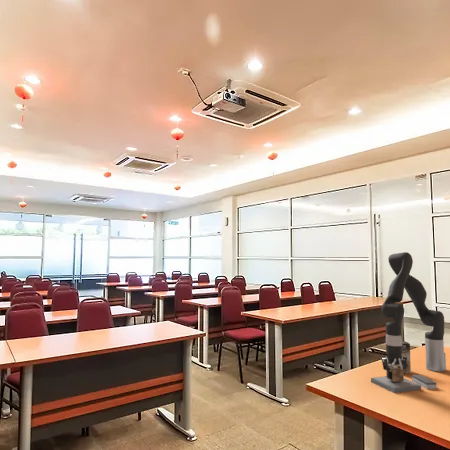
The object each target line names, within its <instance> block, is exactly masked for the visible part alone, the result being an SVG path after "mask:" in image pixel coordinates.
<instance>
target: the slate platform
mask: <svg viewBox="0 0 450 450" xmlns="http://www.w3.org/2000/svg"><path fill="white" fill-rule="evenodd" d="M370 382H371V383H372V384H375V385H377V386H379V387H380V388H382V389H385V390H387V391H389V392H391V393H393V394H396V393H397V394H398V393H404V392H405V393H406V392H413V391H421V390H422V386H421V385H419V384H417V383H415V382H413V381H411V380H409V379H407V378H404V381H397V382H394V381H392V380H390V379H387V375H386V376H384V375H383V376H376V377H371V378H370Z"/></svg>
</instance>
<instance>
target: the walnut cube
mask: <svg viewBox="0 0 450 450" xmlns="http://www.w3.org/2000/svg"><path fill="white" fill-rule="evenodd" d="M389 369H390V368H389ZM385 371H386V376H387V370H385ZM391 372H392V379H390V380H392V381H394V382H397V381H404V374H405V373H403V369H401V368H399V367H396V366H394V367H393V368H392V371H391ZM387 379H388V377H387Z"/></svg>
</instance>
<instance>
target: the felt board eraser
mask: <svg viewBox="0 0 450 450" xmlns="http://www.w3.org/2000/svg"><path fill="white" fill-rule="evenodd" d="M411 380H412V382H414V383H417V384H419V385H421V388H424V389H426V390H437V389H438V388H437V382H436V381H434V380H432V379H430V378H428V377H427V376H424V375H422V374H412V375H411Z"/></svg>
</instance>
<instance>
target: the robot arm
mask: <svg viewBox="0 0 450 450" xmlns="http://www.w3.org/2000/svg"><path fill="white" fill-rule="evenodd" d="M387 260H388V264H389V266H390V268H391V269H392V272H393V273H394V274H395V276H396V277H395V278H394V279H393V280H392V281H391V283H390V284H389V288H388V293H387V296H386V298H385V300H384V301H383V303H382V305H381V309H380V311H381V314H382V315H383V316H384V317H386V318H393V319H395V321H388V322H386V323H385V351H386V356H385V357H381V363H382V369H383V370H385V371H386V370H387V375H386V376H387V377H388V379H392V372H391V371H392V368H393V367H394V365H396V366H397V367H399V368H401V369H406V363H407V357H405V356H402V355H401V354H402V341H403V338H402V323H403V318H404V315H405V307H404V306H403V305H402V304H400V303H401V302H402V301H403V298H404V292H405V291H406V293H407V295H408V297H409V298H410V300H411V302H412V304H413V305H414V307H415V310H416V312H417V313H418V316H419V319H420V321H421V322H422V324H424V325H425V326H429V327H432V330H431V331H426V332H425V334H424V343H425V346H424V347H425V364H426V365H425V367H426V369H427V370H429V371H432V372H440V373H441V372H446V370H447V359H446V352H445V348H444V347H445V345H444V344H445V343H444V335H445V316H444V314H443V312H442V311H440V310H435V309H429V308H428V307H427V304H426V300H427V294H428V293H427V291H426V288H425V286H424V285H423V284H422V282H421V281H420V280H419V279H417V278H416V277H414V276H412V275H411V274H410V273H411V270H412V268H413V262H414V260H413V256H412V255H411V254H410V252H407V251H406V252H405V251H404V252H398V253H393V254H390V255H388V259H387ZM403 363H404V366H403ZM390 364H392V365H390ZM389 368H390V369H389Z"/></svg>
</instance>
